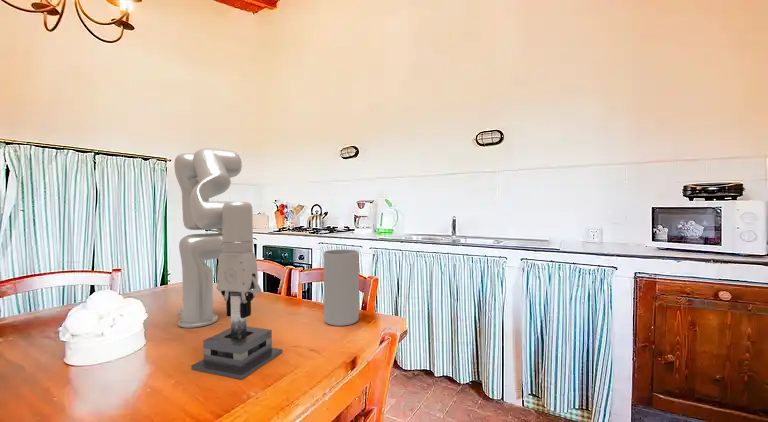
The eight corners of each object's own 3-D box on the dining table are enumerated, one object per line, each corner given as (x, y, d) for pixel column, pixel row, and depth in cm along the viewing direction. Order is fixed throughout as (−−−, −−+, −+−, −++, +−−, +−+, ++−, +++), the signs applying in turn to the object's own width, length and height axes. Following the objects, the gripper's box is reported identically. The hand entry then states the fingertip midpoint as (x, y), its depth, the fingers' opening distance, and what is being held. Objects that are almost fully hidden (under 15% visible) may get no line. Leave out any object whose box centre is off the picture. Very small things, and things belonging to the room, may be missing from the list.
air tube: (227, 340, 91) (226, 284, 91) (238, 335, 95) (237, 280, 95) (239, 342, 90) (238, 285, 90) (250, 336, 94) (249, 281, 94)
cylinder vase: (344, 329, 116) (344, 255, 116) (316, 322, 123) (316, 252, 123) (365, 318, 127) (365, 251, 127) (339, 313, 134) (338, 248, 133)
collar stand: (191, 369, 88) (190, 342, 88) (236, 345, 103) (236, 322, 103) (241, 379, 83) (241, 350, 83) (282, 352, 98) (282, 328, 98)
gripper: (202, 248, 92) (203, 317, 92) (254, 250, 86) (254, 323, 86) (223, 245, 99) (224, 309, 99) (272, 247, 93) (273, 314, 93)
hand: (238, 315), depth 93 cm, fingers closed on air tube, 4 cm apart
